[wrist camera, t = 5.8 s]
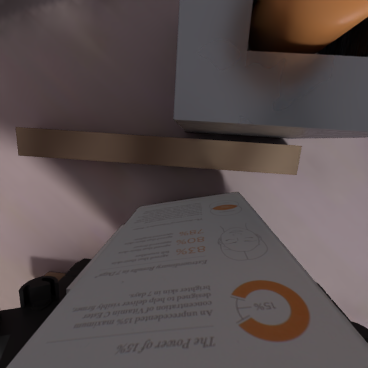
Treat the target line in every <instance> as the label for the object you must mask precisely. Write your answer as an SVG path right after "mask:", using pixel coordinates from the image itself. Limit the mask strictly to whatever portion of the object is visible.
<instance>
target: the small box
mask: <svg viewBox="0 0 368 368" xmlns="http://www.w3.org/2000/svg"><path fill="white" fill-rule="evenodd" d="M6 368H368V343H367V342H366V341H365V340H364V338H363V337H362V336H361V335H360V334H359V333H358V332H357V330H356V329H355V328H354V327H353V326H352V324H351V323H350V322H349V321H348V319H347V318H346V317H345V316H344V315H343V314H342V313H341V312H340V310H339V309H338V308H337V307H336V306H335V305H334V303H333V302H332V301H331V300H330V299H329V298H328V296H327V295H326V294H325V293H324V292H323V291H322V289H321V288H320V287H319V286H318V285H317V283H316V282H315V281H314V280H313V279H312V277H311V276H310V275H309V274H308V273H307V272H306V270H305V269H304V268H303V267H302V266H301V264H300V263H299V262H298V261H297V260H296V258H295V257H294V256H293V255H292V254H291V253H290V251H289V250H288V249H287V248H286V247H285V246H284V244H283V243H282V242H281V241H280V240H279V238H278V237H277V236H276V235H275V234H274V233H273V232H272V231H271V229H270V228H269V227H268V226H267V224H266V223H265V222H264V221H263V220H262V218H261V217H260V216H259V215H258V214H257V213H256V211H255V210H254V209H253V208H252V207H251V206H250V204H249V203H248V202H247V201H246V200H245V199H244V197H243V196H242V195H241V194H240V193H239V192H233V193H226V194H219V195H212V196H205V197H199V198H192V199H186V200H179V201H172V202H166V203H159V204H153V205H147V206H141V207H138V209H137V210H136V211H135V212H134V214H133V215H132V216H131V217H130V219H129V220H128V221H127V222H126V223H125V225H124V226H123V227H122V228H121V230H120V231H119V232H118V233H117V234H116V236H115V237H114V238H113V239H112V240H111V242H110V243H109V244H108V245H107V247H106V248H105V249H104V250H103V251H102V252H101V254H100V255H99V256H98V257H97V258H96V260H95V261H94V262H93V263H92V265H91V266H90V267H89V268H88V269H87V271H86V272H85V273H84V274H83V275H82V277H81V278H80V279H79V280H78V282H77V283H76V284H75V285H74V286H73V288H72V289H71V290H70V291H69V292H68V294H67V295H66V296H65V297H64V298H63V300H62V301H61V302H60V303H59V304H58V306H57V307H56V308H55V309H54V310H53V312H52V313H51V314H50V315H49V316H48V318H47V319H46V320H45V321H44V323H43V324H42V325H41V326H40V327H39V329H38V330H37V331H36V332H35V333H34V335H33V336H32V337H31V338H30V339H29V341H28V342H27V343H26V344H25V345H24V347H23V348H22V349H21V350H20V351H19V353H18V354H17V355H16V356H15V358H14V359H13V360H12V361H11V363H10V364H9V365H8V366H7V367H6Z"/></svg>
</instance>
